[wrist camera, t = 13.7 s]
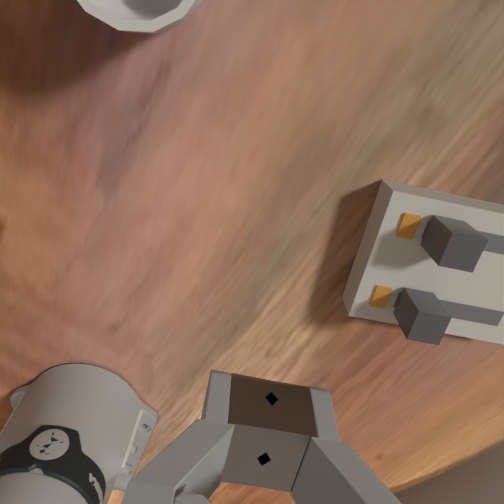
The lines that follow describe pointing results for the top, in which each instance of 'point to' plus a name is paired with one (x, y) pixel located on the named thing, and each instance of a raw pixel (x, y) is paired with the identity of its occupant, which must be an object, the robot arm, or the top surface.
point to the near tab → (453, 243)
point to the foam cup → (141, 13)
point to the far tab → (421, 316)
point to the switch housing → (428, 261)
